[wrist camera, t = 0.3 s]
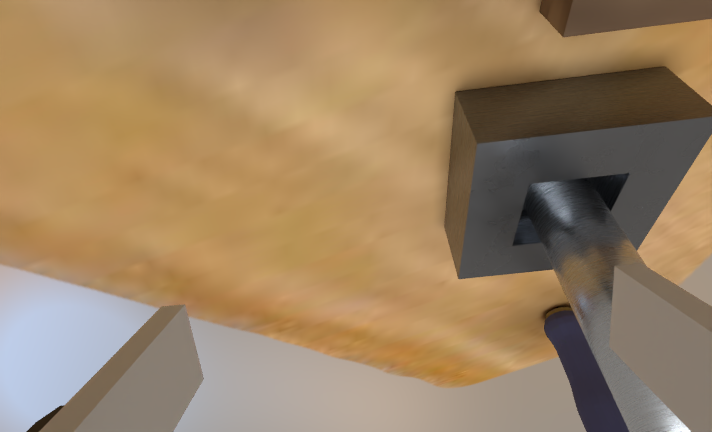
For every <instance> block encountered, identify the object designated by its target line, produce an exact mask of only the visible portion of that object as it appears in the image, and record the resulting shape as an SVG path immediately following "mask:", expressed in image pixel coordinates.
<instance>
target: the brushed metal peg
mask: <svg viewBox="0 0 712 432" xmlns="http://www.w3.org/2000/svg"><path fill="white" fill-rule="evenodd" d="M524 207H525V209H526V211H527V214H528V216H529V218H530V220H531V222H532V224H533V226H534V228H535V231H536V233H537V235H538V237H539V239H540V241H541V243H542V246H543V248H544V250H545V252H546V254H547V256H548V258H549V261H550V263H551V265H552V267H553V269H554V271H555V273H556V276H557V278H558V280H559V282H560V284H561V286H562V288H563V291H564V293H565V295H566V297H567V299H568V301H569V303H570V306H571V308H572V310H573V312H574V314H575V316H576V318H577V320H578V323H579V325H580V327H581V329H582V331H583V333H584V335H585V338H586V340H587V342H588V344H589V346H590V348H591V350H592V353H593V355H594V357H595V359H596V361H597V363H598V365H599V368H600V370H601V372H602V374H603V376H604V378H605V380H606V383H607V385H608V387H609V389H610V391H611V393H612V395H613V398H614V400H615V402H616V404H617V406H618V408H619V410H620V412H621V415H622V417H623V419H624V421H625V423H626V425H627V427H628V430H629V432H691V431H690V430H689V429H688V428H687V427H686V426H685V425H684V424H683V423H682V422H681V420H680V419H679V418H678V417H677V416H676V415H675V414H674V413H673V412H672V411H671V410H670V409H669V408H668V407H667V406H666V405H665V404H664V403H663V402H662V401H661V400H660V399H659V398H658V397H657V396H656V395H655V394H654V393H653V392H652V391H651V390H650V388H649V387H648V386H647V385H646V384H645V383H644V382H643V381H642V380H641V379H640V378H639V377H638V376H637V375H636V374H635V373H634V372H633V371H632V370H631V369H630V368H629V367H628V366H627V365H626V364H625V363H624V362H623V361H622V360H621V359H620V357H619V356H618V355H617V354H616V353H615V352H614V351H613V350H612V349H611V348H610V347H609V340H610V325H611V311H612V296H613V281H614V267H615V266H620V265H632V264H643V265H644V266H646V264H645V263H644V261H643V260H642V258H641V257H640V255H639V254H638V252H637V251H636V249H635V248H634V246H633V245H632V243H631V242H630V240H629V239H628V237H627V236H626V234H625V233H624V231H623V230H622V228H621V227H620V225H619V224H618V222H617V221H616V219H615V218H614V216H613V215H612V213H611V212H610V210H609V209H608V207H607V205H606V204H605V202H604V201H603V199H602V198H601V196H600V195H599V193H598V192H597V190H596V189H595V187H594V186H593V184H592V183H591V181H590V180H589V178H580V179H571V180H562V181H553V182H544V183H535V184H529V187H528V191H527V195H526V198H525V202H524ZM646 267H647V266H646Z"/></svg>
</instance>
